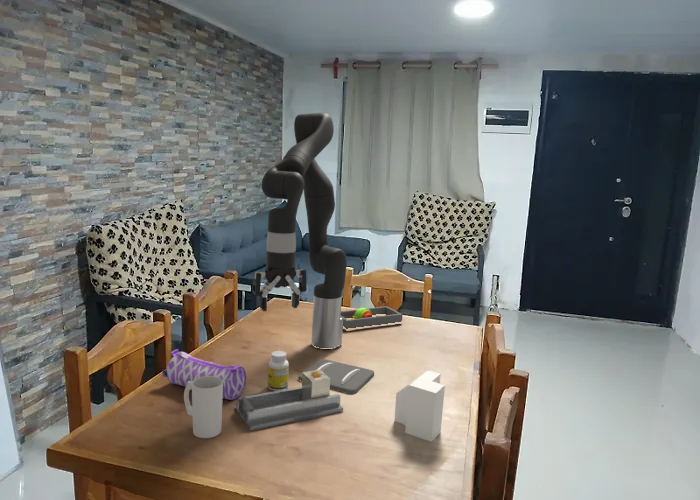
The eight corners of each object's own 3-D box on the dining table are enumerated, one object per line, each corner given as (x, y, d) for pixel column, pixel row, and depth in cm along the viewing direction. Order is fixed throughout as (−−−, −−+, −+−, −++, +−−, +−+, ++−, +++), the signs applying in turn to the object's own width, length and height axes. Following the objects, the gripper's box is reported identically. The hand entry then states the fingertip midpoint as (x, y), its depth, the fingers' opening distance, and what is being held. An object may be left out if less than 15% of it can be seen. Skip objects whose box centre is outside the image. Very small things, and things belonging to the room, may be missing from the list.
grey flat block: (296, 371, 153) (322, 353, 167) (296, 381, 153) (321, 363, 167) (354, 385, 146) (376, 365, 159) (353, 396, 146) (375, 376, 160)
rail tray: (322, 391, 147) (323, 361, 145) (343, 411, 136) (344, 379, 135) (235, 408, 135) (235, 375, 134) (250, 430, 125) (251, 396, 123)
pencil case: (161, 387, 145) (160, 353, 143) (185, 374, 153) (185, 343, 151) (229, 407, 136) (229, 371, 134) (250, 393, 144) (251, 359, 142)
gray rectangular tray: (386, 315, 216) (387, 306, 216) (401, 324, 207) (402, 314, 206) (332, 322, 205) (333, 312, 204) (346, 331, 195) (346, 320, 195)
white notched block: (431, 441, 125) (435, 393, 122) (387, 426, 130) (391, 379, 128) (449, 423, 134) (453, 377, 131) (407, 409, 139) (411, 365, 137)
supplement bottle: (268, 383, 150) (269, 349, 149) (288, 383, 151) (289, 349, 149) (267, 391, 145) (268, 357, 143) (287, 392, 146) (288, 357, 144)
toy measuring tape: (345, 325, 202) (346, 308, 201) (381, 316, 215) (382, 300, 214) (357, 330, 198) (358, 313, 196) (392, 320, 211) (394, 304, 210)
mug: (228, 429, 125) (229, 380, 123) (209, 442, 119) (209, 391, 117) (194, 417, 130) (194, 370, 127) (174, 430, 124) (173, 380, 121)
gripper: (300, 245, 147) (298, 302, 151) (250, 247, 141) (248, 307, 144) (312, 250, 141) (309, 310, 144) (259, 252, 134) (257, 315, 137)
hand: (279, 308), depth 144 cm, fingers open, 8 cm apart
